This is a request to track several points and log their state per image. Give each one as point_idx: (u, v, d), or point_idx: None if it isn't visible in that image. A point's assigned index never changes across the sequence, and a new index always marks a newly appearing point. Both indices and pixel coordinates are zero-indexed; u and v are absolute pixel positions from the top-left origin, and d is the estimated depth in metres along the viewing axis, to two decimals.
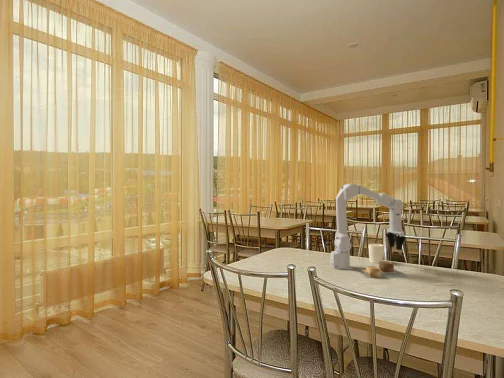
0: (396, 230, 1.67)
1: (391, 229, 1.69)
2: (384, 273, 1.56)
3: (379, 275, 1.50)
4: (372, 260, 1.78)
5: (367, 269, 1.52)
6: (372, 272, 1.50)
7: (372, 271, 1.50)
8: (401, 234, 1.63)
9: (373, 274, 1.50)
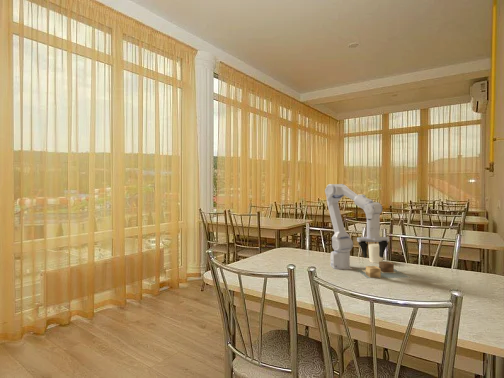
0: None
1: None
2: (384, 273, 1.56)
3: (379, 275, 1.50)
4: (372, 260, 1.78)
5: (367, 269, 1.52)
6: (372, 272, 1.50)
7: (372, 271, 1.50)
8: (357, 239, 1.52)
9: (373, 274, 1.50)
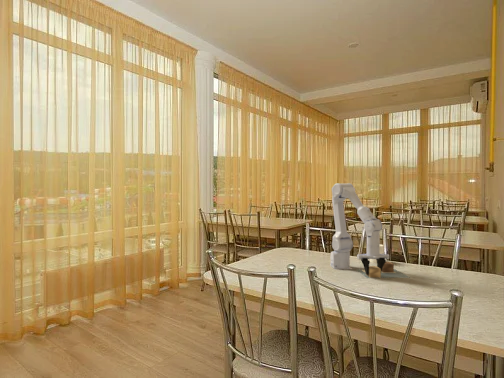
0: None
1: None
2: (384, 273, 1.56)
3: (379, 275, 1.50)
4: (372, 260, 1.78)
5: None
6: (372, 272, 1.50)
7: (372, 271, 1.50)
8: (357, 256, 1.52)
9: (373, 274, 1.50)
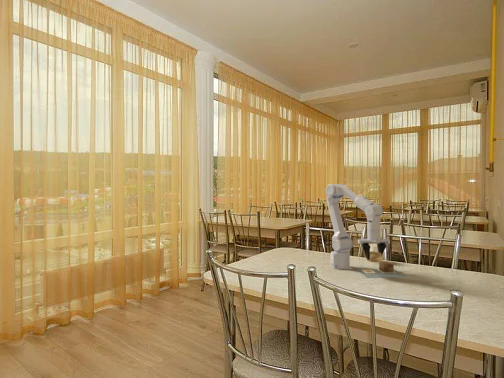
0: (367, 238, 1.53)
1: None
2: (384, 273, 1.56)
3: (380, 260, 1.50)
4: None
5: None
6: (373, 257, 1.50)
7: (373, 256, 1.50)
8: (358, 241, 1.53)
9: (373, 259, 1.50)
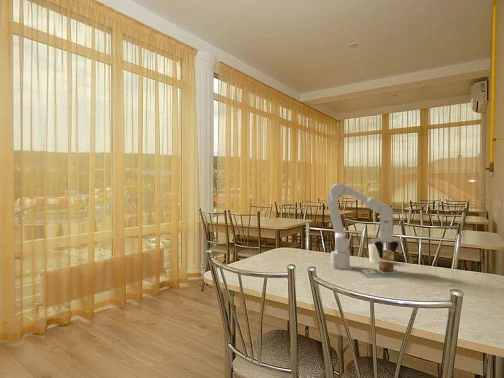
0: (380, 237, 1.61)
1: None
2: (384, 273, 1.56)
3: (392, 258, 1.58)
4: (372, 260, 1.78)
5: None
6: (386, 256, 1.58)
7: (385, 254, 1.58)
8: (371, 240, 1.61)
9: (386, 257, 1.58)
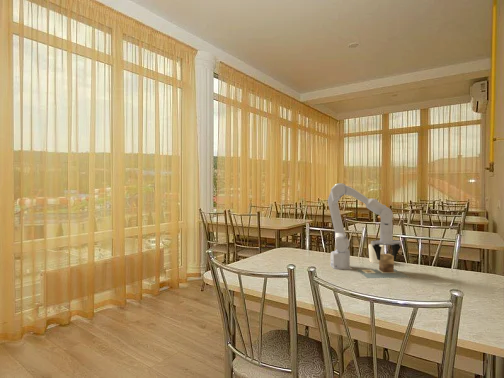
0: (380, 239, 1.61)
1: None
2: (384, 273, 1.56)
3: (392, 262, 1.58)
4: (372, 260, 1.78)
5: (381, 256, 1.61)
6: (386, 259, 1.58)
7: (386, 258, 1.58)
8: (371, 242, 1.61)
9: (386, 261, 1.58)
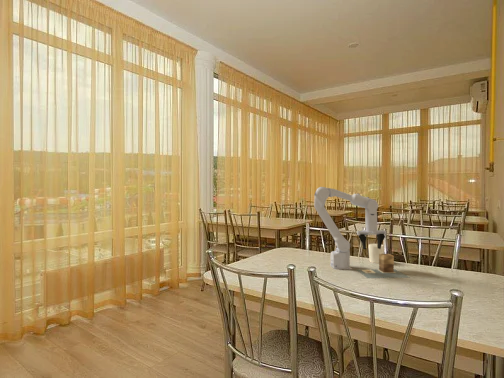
0: (365, 230, 1.68)
1: None
2: (384, 273, 1.56)
3: (392, 262, 1.58)
4: (372, 260, 1.78)
5: (381, 256, 1.61)
6: (386, 259, 1.58)
7: (386, 258, 1.58)
8: (357, 233, 1.67)
9: (386, 261, 1.58)
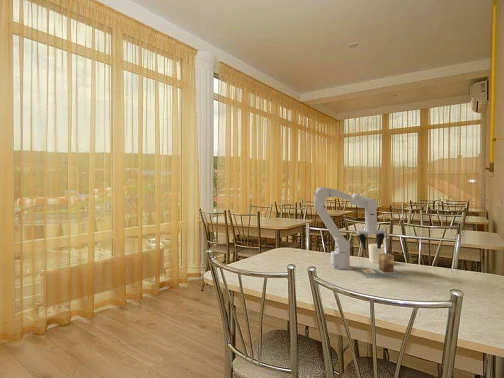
0: (365, 229, 1.68)
1: None
2: (384, 273, 1.56)
3: (392, 262, 1.58)
4: (372, 260, 1.78)
5: (381, 256, 1.61)
6: (386, 259, 1.58)
7: (386, 258, 1.58)
8: (357, 232, 1.67)
9: (386, 261, 1.58)
